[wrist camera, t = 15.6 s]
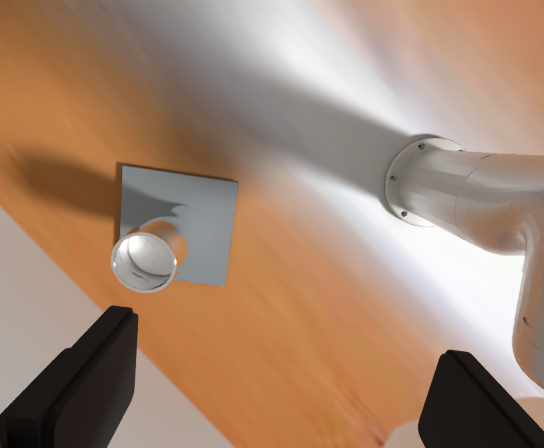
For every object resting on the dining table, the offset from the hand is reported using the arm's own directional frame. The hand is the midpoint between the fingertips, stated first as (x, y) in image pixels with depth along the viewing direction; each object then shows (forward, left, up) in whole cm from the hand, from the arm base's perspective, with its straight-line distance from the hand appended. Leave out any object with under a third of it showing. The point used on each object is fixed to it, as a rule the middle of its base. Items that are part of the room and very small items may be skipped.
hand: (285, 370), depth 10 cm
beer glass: (+12, +7, -38) cm, 40 cm away
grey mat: (+13, +8, -38) cm, 41 cm away
